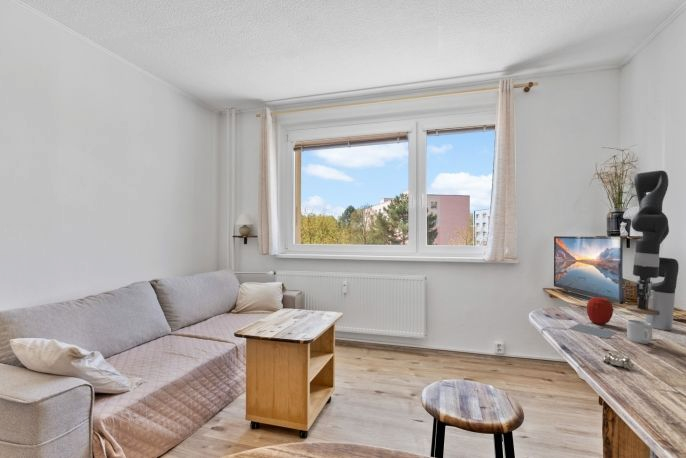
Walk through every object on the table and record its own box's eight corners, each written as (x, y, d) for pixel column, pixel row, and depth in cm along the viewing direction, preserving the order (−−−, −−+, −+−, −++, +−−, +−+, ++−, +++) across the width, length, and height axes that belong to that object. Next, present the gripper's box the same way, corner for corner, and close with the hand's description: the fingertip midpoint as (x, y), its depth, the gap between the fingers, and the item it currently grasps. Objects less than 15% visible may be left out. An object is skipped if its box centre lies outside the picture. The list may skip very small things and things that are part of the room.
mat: (578, 324, 157) (579, 323, 157) (616, 333, 146) (616, 332, 146) (567, 329, 147) (567, 328, 147) (607, 339, 136) (607, 338, 136)
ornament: (637, 368, 109) (638, 357, 109) (630, 372, 105) (630, 361, 105) (607, 359, 115) (608, 348, 115) (599, 363, 111) (600, 352, 111)
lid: (628, 307, 141) (630, 292, 141) (661, 313, 133) (662, 297, 133) (623, 310, 135) (624, 294, 134) (657, 316, 127) (658, 300, 127)
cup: (662, 349, 128) (663, 328, 128) (637, 346, 130) (639, 326, 129) (642, 339, 138) (644, 320, 138) (620, 337, 140) (622, 318, 140)
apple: (612, 328, 152) (615, 298, 152) (585, 324, 158) (587, 294, 158) (611, 324, 161) (613, 295, 160) (585, 319, 167) (587, 291, 166)
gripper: (637, 262, 141) (634, 303, 141) (629, 264, 132) (626, 307, 132) (662, 265, 135) (658, 307, 135) (655, 266, 126) (651, 312, 126)
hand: (642, 307), depth 134 cm, fingers closed on lid, 3 cm apart
